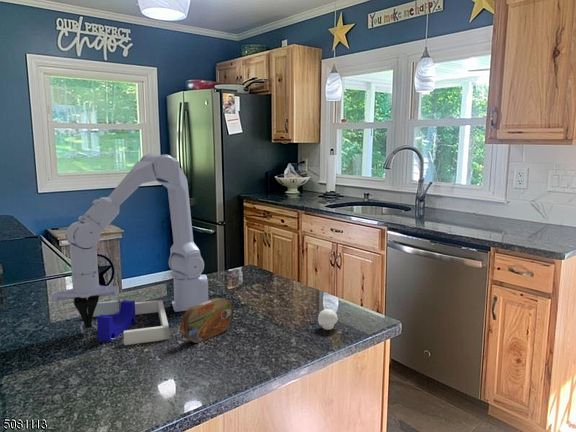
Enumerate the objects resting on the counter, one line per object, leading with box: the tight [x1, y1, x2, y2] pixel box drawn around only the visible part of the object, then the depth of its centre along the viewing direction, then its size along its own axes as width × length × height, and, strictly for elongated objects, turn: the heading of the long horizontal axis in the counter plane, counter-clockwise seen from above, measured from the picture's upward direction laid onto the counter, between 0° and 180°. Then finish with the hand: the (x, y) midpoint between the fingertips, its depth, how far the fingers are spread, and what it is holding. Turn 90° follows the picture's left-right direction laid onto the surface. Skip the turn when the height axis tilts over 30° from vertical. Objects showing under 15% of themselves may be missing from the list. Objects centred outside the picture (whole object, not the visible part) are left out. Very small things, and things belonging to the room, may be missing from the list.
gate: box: [92, 298, 123, 318], centre depth 117 cm, size 1×8×4 cm, turn 110°
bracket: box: [123, 299, 170, 346], centre depth 110 cm, size 10×20×3 cm, turn 20°
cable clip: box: [96, 299, 137, 342], centre depth 107 cm, size 12×4×6 cm, turn 171°
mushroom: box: [317, 308, 339, 331], centre depth 109 cm, size 5×5×5 cm
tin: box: [180, 297, 234, 344], centre depth 105 cm, size 15×3×8 cm, turn 143°
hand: (88, 326), depth 106 cm, fingers closed
